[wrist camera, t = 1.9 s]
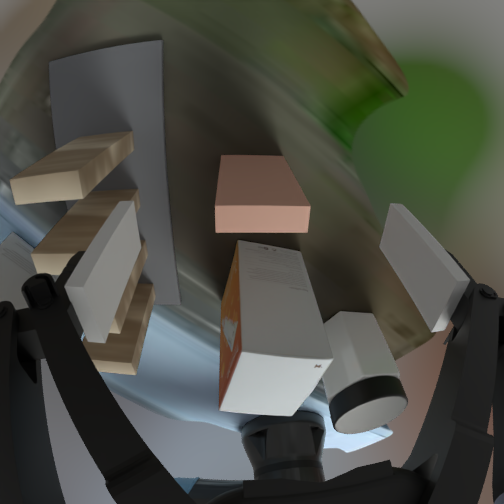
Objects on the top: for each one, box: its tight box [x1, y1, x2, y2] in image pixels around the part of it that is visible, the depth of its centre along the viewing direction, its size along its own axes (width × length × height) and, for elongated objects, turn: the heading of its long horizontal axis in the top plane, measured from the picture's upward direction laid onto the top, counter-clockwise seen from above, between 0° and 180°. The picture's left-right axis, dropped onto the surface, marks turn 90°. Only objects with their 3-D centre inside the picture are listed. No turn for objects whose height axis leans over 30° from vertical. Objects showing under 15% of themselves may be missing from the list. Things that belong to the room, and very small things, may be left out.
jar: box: [322, 311, 408, 434], centre depth 32 cm, size 9×8×12 cm
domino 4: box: [82, 283, 156, 375], centre depth 26 cm, size 2×5×10 cm, turn 88°
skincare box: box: [0, 232, 59, 310], centre depth 23 cm, size 8×7×16 cm
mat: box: [49, 40, 181, 305], centre depth 25 cm, size 25×10×1 cm, turn 178°
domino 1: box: [10, 131, 134, 205], centre depth 18 cm, size 2×5×10 cm, turn 88°
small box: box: [219, 240, 333, 416], centre depth 26 cm, size 8×6×13 cm
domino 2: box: [31, 189, 141, 275], centre depth 21 cm, size 2×5×10 cm, turn 88°
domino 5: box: [215, 155, 311, 233], centre depth 21 cm, size 2×5×10 cm, turn 88°
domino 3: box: [109, 240, 148, 334], centre depth 24 cm, size 2×5×10 cm, turn 88°
